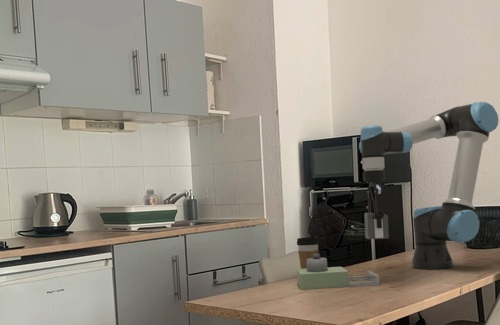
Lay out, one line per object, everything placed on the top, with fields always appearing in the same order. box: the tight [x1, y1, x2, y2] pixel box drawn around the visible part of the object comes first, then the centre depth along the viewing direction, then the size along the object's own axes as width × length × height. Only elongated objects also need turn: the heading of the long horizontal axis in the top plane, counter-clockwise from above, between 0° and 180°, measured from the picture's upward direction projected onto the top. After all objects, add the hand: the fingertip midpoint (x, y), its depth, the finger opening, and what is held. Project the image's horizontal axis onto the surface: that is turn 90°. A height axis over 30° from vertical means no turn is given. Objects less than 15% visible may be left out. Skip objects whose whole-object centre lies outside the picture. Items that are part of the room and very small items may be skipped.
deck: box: [296, 253, 350, 291], centre depth 193 cm, size 16×12×11 cm
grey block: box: [364, 212, 390, 240], centre depth 195 cm, size 7×4×9 cm, turn 92°
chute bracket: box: [348, 270, 381, 288], centre depth 193 cm, size 10×13×3 cm
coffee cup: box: [296, 236, 320, 269], centre depth 212 cm, size 8×8×15 cm
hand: (377, 237), depth 195 cm, fingers closed on grey block, 5 cm apart
